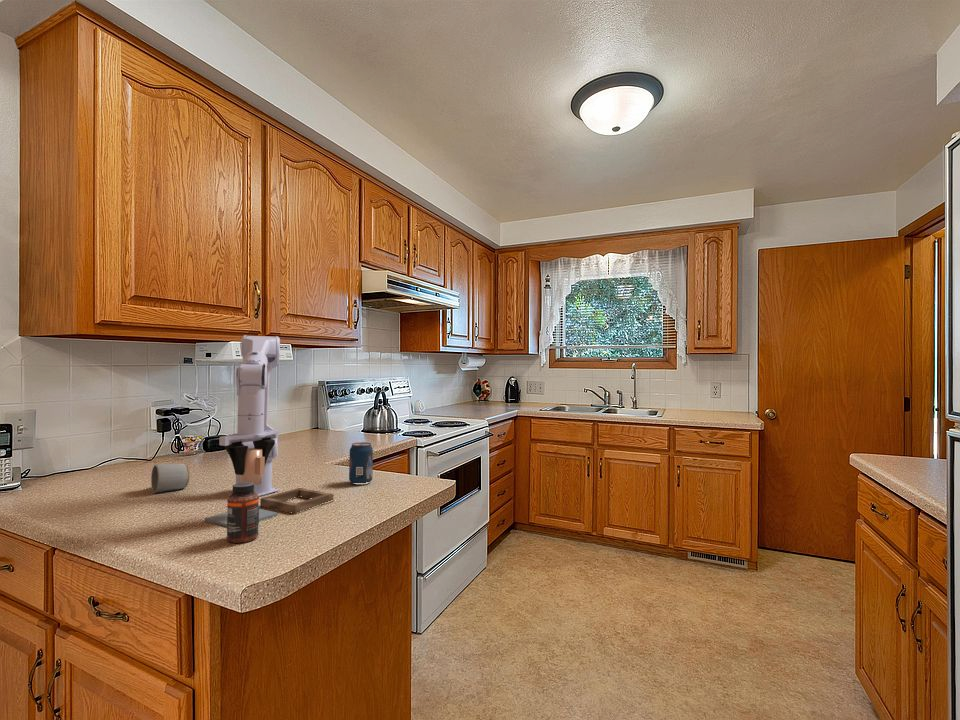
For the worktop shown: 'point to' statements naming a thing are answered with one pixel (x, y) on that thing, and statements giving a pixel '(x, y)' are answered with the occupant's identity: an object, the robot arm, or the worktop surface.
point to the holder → (280, 503)
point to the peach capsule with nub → (253, 466)
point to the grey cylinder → (169, 477)
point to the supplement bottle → (242, 513)
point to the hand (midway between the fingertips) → (249, 472)
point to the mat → (222, 517)
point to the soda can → (360, 463)
